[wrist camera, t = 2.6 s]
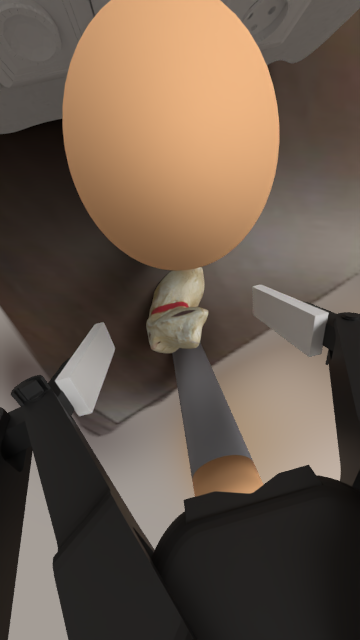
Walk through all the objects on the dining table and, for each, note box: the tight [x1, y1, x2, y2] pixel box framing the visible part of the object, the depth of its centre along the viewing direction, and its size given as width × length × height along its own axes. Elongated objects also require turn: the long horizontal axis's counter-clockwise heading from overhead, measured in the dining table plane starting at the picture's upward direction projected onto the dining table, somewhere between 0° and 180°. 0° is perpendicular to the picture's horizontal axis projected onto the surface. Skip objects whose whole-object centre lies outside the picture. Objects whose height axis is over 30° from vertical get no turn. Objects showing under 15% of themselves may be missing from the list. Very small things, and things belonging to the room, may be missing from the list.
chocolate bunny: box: [146, 267, 208, 353], centre depth 16 cm, size 6×8×10 cm
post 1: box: [63, 0, 279, 271], centre depth 10 cm, size 4×4×15 cm
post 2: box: [172, 343, 263, 497], centre depth 17 cm, size 4×4×15 cm
